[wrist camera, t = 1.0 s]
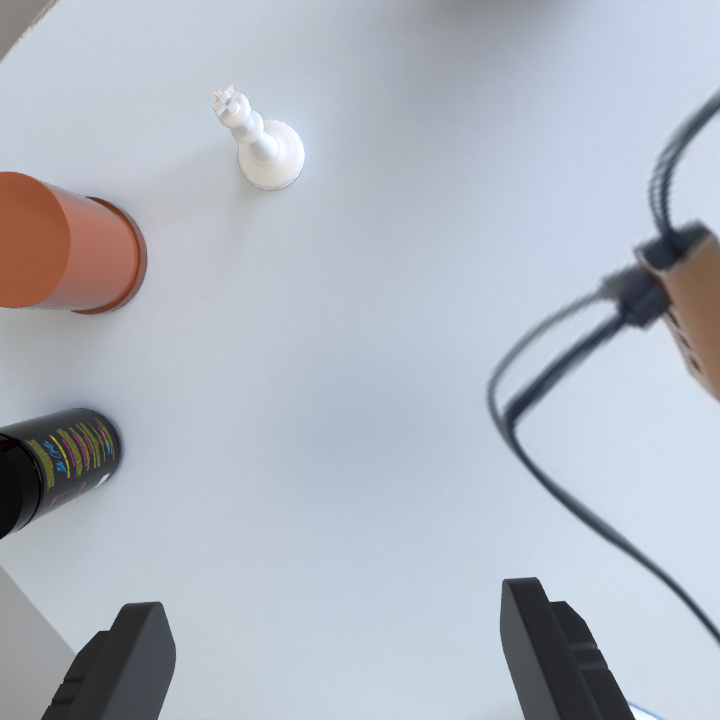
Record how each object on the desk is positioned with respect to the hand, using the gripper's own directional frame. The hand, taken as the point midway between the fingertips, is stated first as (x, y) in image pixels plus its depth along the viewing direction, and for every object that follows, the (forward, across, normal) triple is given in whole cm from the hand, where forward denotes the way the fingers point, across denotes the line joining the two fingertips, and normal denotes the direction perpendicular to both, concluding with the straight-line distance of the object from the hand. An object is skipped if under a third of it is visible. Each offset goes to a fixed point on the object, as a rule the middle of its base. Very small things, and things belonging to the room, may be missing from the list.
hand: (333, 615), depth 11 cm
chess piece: (+31, +5, -11) cm, 33 cm away
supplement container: (+26, +22, +10) cm, 35 cm away
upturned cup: (+30, +20, -4) cm, 36 cm away
